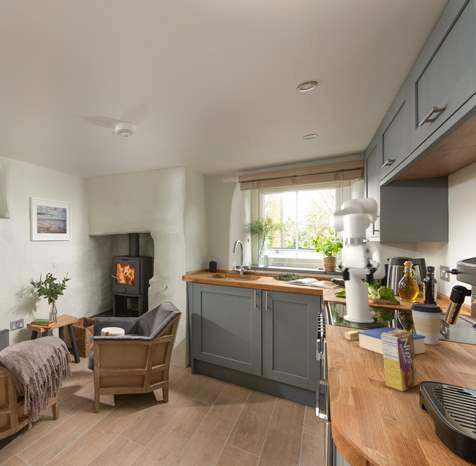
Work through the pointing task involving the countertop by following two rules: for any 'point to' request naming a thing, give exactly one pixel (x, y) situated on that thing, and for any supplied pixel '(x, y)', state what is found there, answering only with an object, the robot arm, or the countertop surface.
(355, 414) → the countertop surface
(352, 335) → the wooden block
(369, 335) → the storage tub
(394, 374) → the candy box
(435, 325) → the coffee cup
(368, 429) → the countertop surface
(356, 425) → the countertop surface
